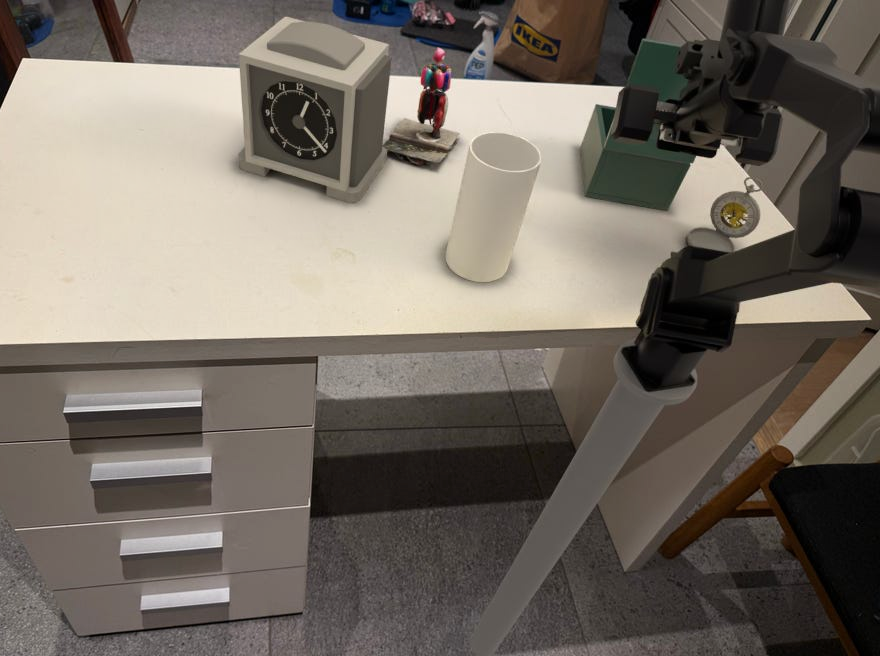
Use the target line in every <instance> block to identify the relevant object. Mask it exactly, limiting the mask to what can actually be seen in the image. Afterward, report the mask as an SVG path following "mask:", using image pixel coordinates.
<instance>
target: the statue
mask: <svg viewBox="0 0 880 656" xmlns="http://www.w3.org/2000/svg"><path fill="white" fill-rule="evenodd" d="M445 55H446V52H445V50H444V49H442V48H441V47H436V48H435V51H434V53H433V56H432V57H433V61H434V63H431V64H428V65H426V66H425V67H424V68H423V69H422V71H421V76H420V85H421V86H422V87H423V89H422V91H421V92H420V96H419V101H418V107H417V115H416V117H417V120H418V121H416V120H411V119H410V118H403V120H401V122H400V123H399V124H398V126H397V127H395V129H394V130H393V131H392V132H391V133H390V134H389V137H388V140H386V141H385V142H384V143H383V144H382V147H384V148H385V149H386V150H387V153H390V152H391V153H392V154H394V155H395V156H396V157H397V158H398V159H400V160H402V159H404V157H406V158H407V159H408V160H409V161H410V163H413V164H416V165H417V166H421V165H426V164H427V161H428V162H434V163H438V164H439V163H441V161H442V160H443V159H444V158H445V157H447V155H448V154H449V150H452V149H453V146H454V143H455V142H457V141H458V137H459V136H460V135H461V134H460V132H458V131H453V130H450V129H446V128H442V127H444V125H445V121H446V117H447V114H448V109H449V98H448V95H447V93H446V92H448V91H449V90H450V88H451V82H452V69H451V68H450V67H449V66H448V65H444V64H443V63H442V62H444V60H445ZM426 121H429V124H427V123H425V122H426ZM403 156H404V157H403ZM429 166H431V164H429Z"/></svg>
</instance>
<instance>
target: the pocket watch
mask: <svg viewBox="0 0 880 656" xmlns="http://www.w3.org/2000/svg"><path fill="white" fill-rule="evenodd" d="M748 180H755V181H757V182H758V183H759V184H760V188H758V189H755V188H754V187H755V184H749V185H748V184H747V181H748ZM743 184H744V187H745V190H746V191H745V192H744V191H740V190H731V191H727V192H723V193H722V194H721V195H719V196H718V197H717V198H716V199H714V201H713V202H712V205H711V207H710V212H709V213H710V214H709V215H710V221H711V223H712V226H713V227H714V229H713V228H709V227H695V228H693V229H691V230H690V231H688V234H687V236H686V241H687V244H688V246H697V247H702V248H708V249H714V250H719V251H725V252H734V251H736V246H735V244H734V242H733V241H732V240H731V239H739V238H744V237H746V236H749V235H750V234H751V233H752V232H754V231H755V230H756V229H757V227H758V225H759V223H760V220H761V209H760V205H759V204H758V202H757V201H756V199H755V198H754V197H753V196H752V195H750V194H753V193H757V192H761V191H762V190H764V183H763V182H762V181H761V180H760V179H759V178H757V177H753V176H748V177H746V178H745V179H744V180H743ZM746 215H747V216H746ZM742 222H745V223H744V224H743V223H742ZM730 238H731V239H730Z"/></svg>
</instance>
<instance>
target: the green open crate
mask: <svg viewBox="0 0 880 656" xmlns="http://www.w3.org/2000/svg"><path fill="white" fill-rule="evenodd" d="M615 110H616V106H615V107H614V106H609V105H603V104H598V103H595V105H594V108H593V111H592V113H591V117H590V119H589V122H588V125H587V128H586V131H585V132H584V136H583V139H582V142H581V145H580V147H579V155H580V163H581V171H582V172H581V173H582V183H583V190H584V191H583V192H584V197H586V198H592V199H597V200H602V201H603V200H604V201H609V202H613V203H614V202H615V203H620V204H625V205H633V206H637V207H644V208H648V209H655V210H659V211H660V210H661V211H669V209H670V207H671V205H672V203H673V201H674V199H675V198H676V195H677V193H678V191H679V189H680V187H681V185H682V184H683V182H684V180H685V178H686V175H687V173H688V171H689V170H690V168H691V163H686V162H681V161H675V160H669V159H664V158H658V157H652V156H646V155H641V154H635V153H629V152H623V151H618V150H612V149H606V148H604V144H605V141H606V138H607V136H608V133H609V130H610V127H611V124H612V122H613V119H614V115H615Z"/></svg>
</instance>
